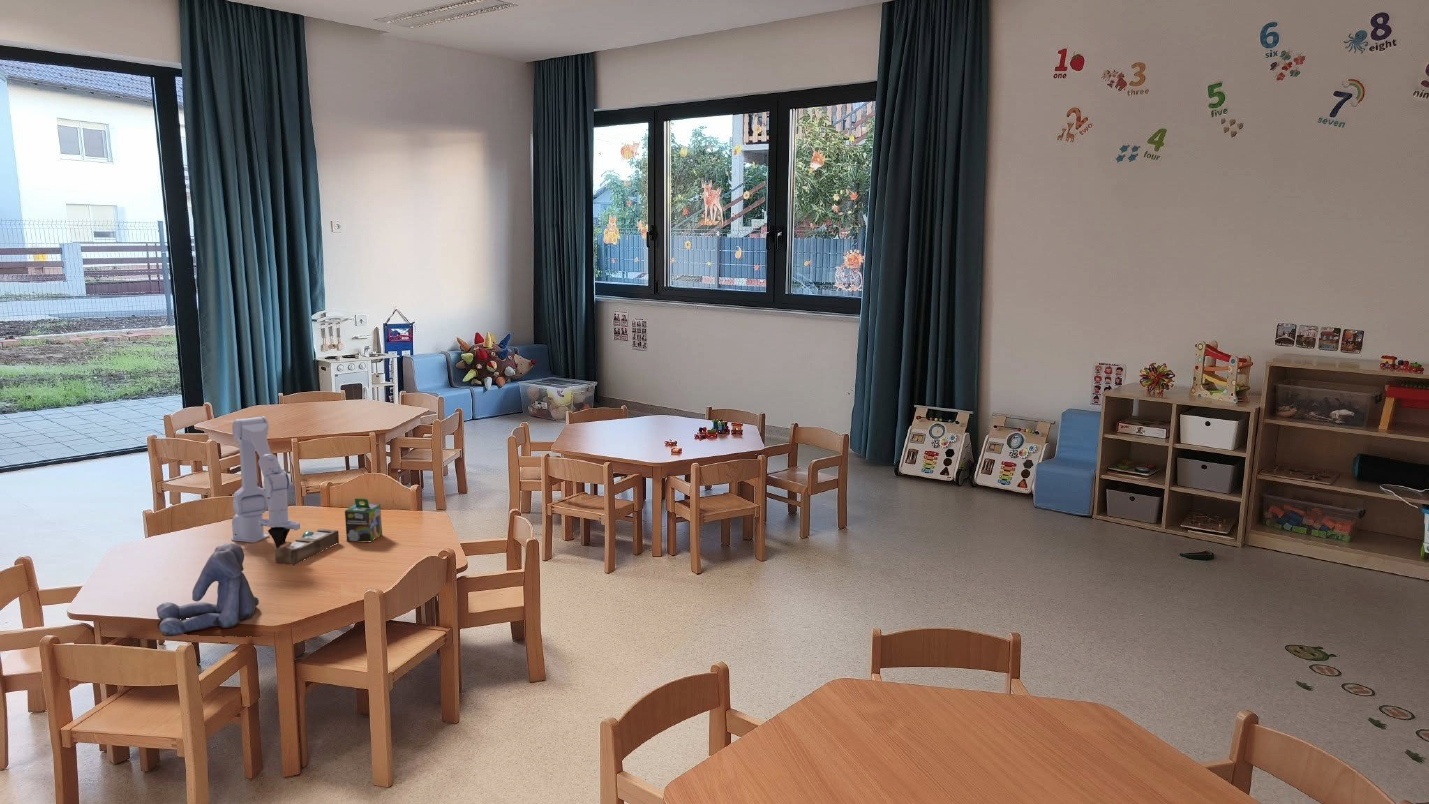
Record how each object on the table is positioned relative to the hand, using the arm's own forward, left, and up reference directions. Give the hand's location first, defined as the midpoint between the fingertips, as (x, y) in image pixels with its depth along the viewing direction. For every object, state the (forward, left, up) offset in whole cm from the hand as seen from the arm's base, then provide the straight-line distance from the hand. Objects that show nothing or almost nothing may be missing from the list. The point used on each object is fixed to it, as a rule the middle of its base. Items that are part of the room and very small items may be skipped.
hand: (280, 548), depth 304 cm
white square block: (+5, 0, -2) cm, 5 cm away
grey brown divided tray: (+7, +6, -3) cm, 9 cm away
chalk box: (+15, +25, -3) cm, 29 cm away
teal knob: (+5, +11, -2) cm, 12 cm away
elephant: (+16, -49, -3) cm, 52 cm away
